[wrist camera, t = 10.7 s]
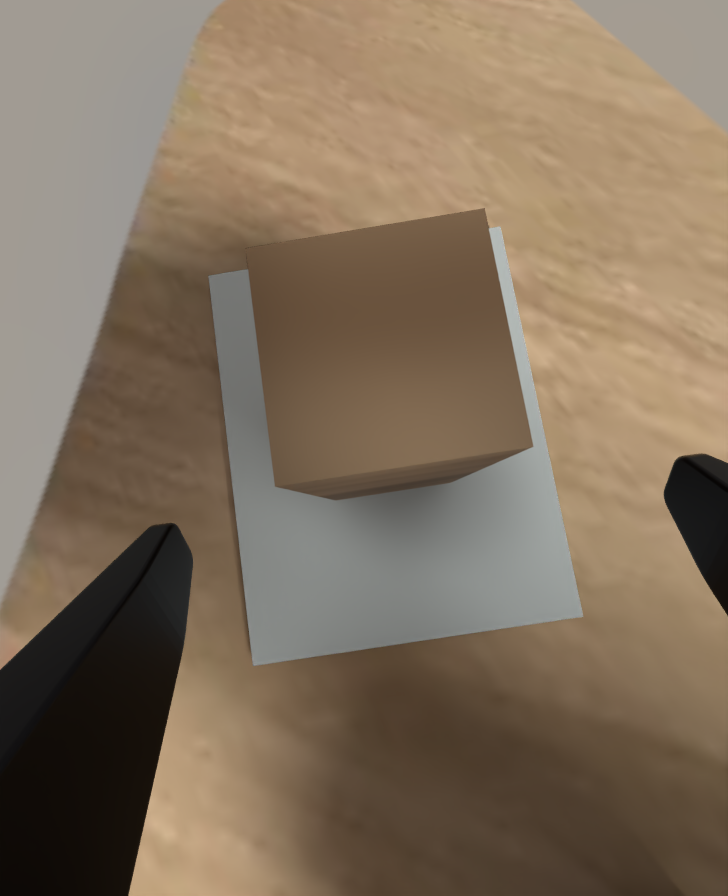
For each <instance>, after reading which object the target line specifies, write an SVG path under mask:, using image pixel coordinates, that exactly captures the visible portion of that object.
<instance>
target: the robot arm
mask: <svg viewBox="0 0 728 896" xmlns="http://www.w3.org/2000/svg"><path fill="white" fill-rule="evenodd" d="M664 499H665V503H666V505H667V507H668V509H669V511H670V513H671V515H672V517H673V519H674V521H675V523H676V525H677V527H678V529H679V531H680V533H681V535H682V537H683V539H684V541H685V543H686V545H687V547H688V549H689V551H690V553H691V555H692V557H693V559H694V561H695V563H696V565H697V567H698V568H699V570H700V572H701V574H702V576H703V577H704V579H705V581H706V582H707V584H708V586H709V587H710V589H711V591H712V592H713V594H714V595H715V597H716V598H717V600H718V601H719V603H720V605H721V606H722V608H723V609H724V611H725V612H726V614H727V615H728V463H726V462H724V461H721V460H719V459H717V458H714V457H712V456H710V455H707V454H693V455H685V456H681V457H678V458H677V459H676V460H675V462H674V464H673V467H672V470H671V472H670V475H669V478H668V481H667V484H666V486H665V489H664ZM192 568H193V557H192V553H191V550H190V549H189V547H188V545H187V543H186V541H185V539H184V537H183V535H182V533H181V531H180V529H179V528H178V526H177V525H176V524H174V523H166V524H158V525H153V526H151V527H149V528H148V529H147V530H146V531H145V532H144V533H143V534H142V535H141V536H140V537H138V538H137V539H136V540H135V541H134V542H133V543H132V544H131V545H130V546H129V547H128V548H127V549H126V550H125V551H124V552H123V553H122V554H121V555H120V556H119V557H118V558H117V559H116V560H114V561H113V562H112V563H111V564H110V565H109V566H108V567H107V568H106V569H105V570H104V571H103V572H102V573H101V574H100V575H99V576H98V577H97V578H96V579H95V580H94V581H93V582H91V583H90V584H89V585H88V586H87V587H86V588H85V589H84V590H83V591H82V592H81V593H80V594H79V595H78V596H77V597H76V598H75V599H74V600H73V601H72V602H71V603H70V604H69V605H67V606H66V607H65V608H64V609H63V610H62V611H61V612H60V613H59V614H58V615H57V616H56V617H55V618H54V619H53V620H52V621H51V622H50V623H49V624H48V625H47V626H46V627H44V628H43V629H42V630H41V631H40V632H39V633H38V634H37V635H36V636H35V637H34V638H33V639H32V640H31V641H30V642H29V643H28V644H27V645H26V646H25V647H24V648H23V649H22V650H20V651H19V652H18V653H17V654H16V655H15V656H14V657H13V658H12V659H11V660H10V661H9V662H8V663H7V664H6V665H5V666H4V667H3V668H2V669H1V670H0V896H128V894H129V890H130V885H131V881H132V876H133V872H134V867H135V863H136V858H137V854H138V849H139V845H140V840H141V836H142V832H143V827H144V823H145V818H146V814H147V809H148V805H149V800H150V796H151V791H152V787H153V782H154V778H155V773H156V769H157V764H158V760H159V755H160V751H161V746H162V742H163V737H164V733H165V728H166V724H167V719H168V715H169V710H170V706H171V701H172V697H173V692H174V688H175V683H176V679H177V674H178V670H179V665H180V661H181V656H182V651H183V646H184V640H185V633H186V624H187V615H188V606H189V596H190V587H191V578H192Z"/></svg>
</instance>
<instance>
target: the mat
mask: <svg viewBox="0 0 728 896" xmlns="http://www.w3.org/2000/svg"><path fill="white" fill-rule="evenodd" d="M489 232H490V237H491V242H492V247H493V251H494V256H495V261H496V266H497V271H498V276H499V281H500V286H501V290H502V295H503V300H504V305H505V310H506V315H507V320H508V325H509V329H510V334H511V339H512V344H513V349H514V354H515V359H516V364H517V368H518V373H519V378H520V383H521V388H522V393H523V398H524V402H525V407H526V412H527V417H528V422H529V427H530V432H531V437H532V441H533V446H534V447H532V448H529V449H527V450H525V451H522V452H520V453H518V454H516V455H513V456H511V457H509V458H506V459H504V460H502V461H500V462H497V463H495V464H493V465H490V466H488V467H486V468H483V469H481V470H479V471H477V472H474V473H472V474H470V475H467V476H465V477H463V478H461V479H458V480H456V481H454V482H451V483H447V484H440V485H434V486H427V487H421V488H414V489H408V490H401V491H395V492H388V493H382V494H375V495H369V496H362V497H356V498H349V499H343V500H336V501H335V500H331V499H327V498H322V497H318V496H314V495H309V494H305V493H300V492H296V491H292V490H287V489H283V488H278V487H275V483H274V475H273V467H272V459H271V451H270V443H269V435H268V427H267V419H266V411H265V403H264V394H263V386H262V378H261V370H260V362H259V354H258V346H257V338H256V330H255V322H254V314H253V306H252V298H251V289H250V281H249V273H248V269H245V270H239V271H233V272H227V273H221V274H215V275H209V285H210V294H211V302H212V311H213V320H214V329H215V338H216V346H217V355H218V364H219V373H220V381H221V390H222V399H223V408H224V417H225V425H226V434H227V443H228V452H229V460H230V469H231V478H232V487H233V496H234V504H235V513H236V522H237V531H238V539H239V548H240V557H241V566H242V575H243V583H244V592H245V601H246V610H247V619H248V627H249V636H250V645H251V654H252V662H253V666H256V665H263V664H270V663H277V662H283V661H290V660H297V659H303V658H310V657H317V656H323V655H330V654H337V653H343V652H350V651H357V650H364V649H370V648H377V647H384V646H390V645H397V644H404V643H410V642H417V641H424V640H430V639H437V638H444V637H451V636H457V635H464V634H471V633H477V632H484V631H491V630H497V629H504V628H511V627H517V626H524V625H531V624H538V623H544V622H551V621H558V620H564V619H571V618H578V617H583V613H582V608H581V603H580V599H579V594H578V589H577V584H576V580H575V575H574V570H573V566H572V561H571V556H570V552H569V547H568V542H567V537H566V533H565V528H564V523H563V519H562V514H561V509H560V505H559V500H558V495H557V490H556V486H555V481H554V476H553V472H552V467H551V462H550V457H549V453H548V448H547V443H546V439H545V434H544V429H543V425H542V420H541V415H540V410H539V406H538V401H537V396H536V392H535V387H534V382H533V378H532V373H531V368H530V363H529V359H528V354H527V349H526V345H525V340H524V335H523V330H522V326H521V321H520V316H519V312H518V307H517V302H516V298H515V293H514V288H513V283H512V279H511V274H510V269H509V265H508V260H507V255H506V251H505V246H504V241H503V236H502V232H501V227H494V228H489Z"/></svg>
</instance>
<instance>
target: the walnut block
mask: <svg viewBox="0 0 728 896" xmlns="http://www.w3.org/2000/svg"><path fill="white" fill-rule="evenodd" d="M245 249H246V257H247V265H248V273H249V281H250V289H251V298H252V306H253V314H254V322H255V330H256V338H257V346H258V354H259V362H260V370H261V378H262V386H263V394H264V403H265V411H266V419H267V427H268V435H269V443H270V451H271V459H272V467H273V475H274V483H275V487H278V488H283V489H287V490H292V491H296V492H300V493H305V494H309V495H314V496H318V497H322V498H327V499H331V500H335V501H336V500H343V499H349V498H356V497H362V496H369V495H375V494H382V493H388V492H395V491H401V490H408V489H414V488H421V487H427V486H434V485H440V484H447V483H451V482H454V481H456V480H458V479H461V478H463V477H465V476H467V475H470V474H472V473H474V472H477V471H479V470H481V469H483V468H486V467H488V466H490V465H493V464H495V463H497V462H500V461H502V460H504V459H506V458H509V457H511V456H513V455H516V454H518V453H520V452H522V451H525V450H527V449H529V448H532V447H534V446H533V441H532V437H531V432H530V427H529V422H528V417H527V412H526V407H525V402H524V398H523V393H522V388H521V383H520V378H519V373H518V368H517V364H516V359H515V354H514V349H513V344H512V339H511V334H510V329H509V325H508V320H507V315H506V310H505V305H504V300H503V295H502V290H501V286H500V281H499V276H498V271H497V266H496V261H495V256H494V251H493V247H492V242H491V237H490V232H489V227H488V222H487V217H486V213H485V208H483V209H478V210H472V211H466V212H460V213H454V214H448V215H442V216H436V217H430V218H424V219H418V220H412V221H406V222H400V223H394V224H388V225H382V226H376V227H370V228H364V229H358V230H352V231H346V232H340V233H334V234H328V235H322V236H316V237H310V238H304V239H298V240H292V241H286V242H280V243H274V244H268V245H262V246H256V247H250V248H245Z"/></svg>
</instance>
